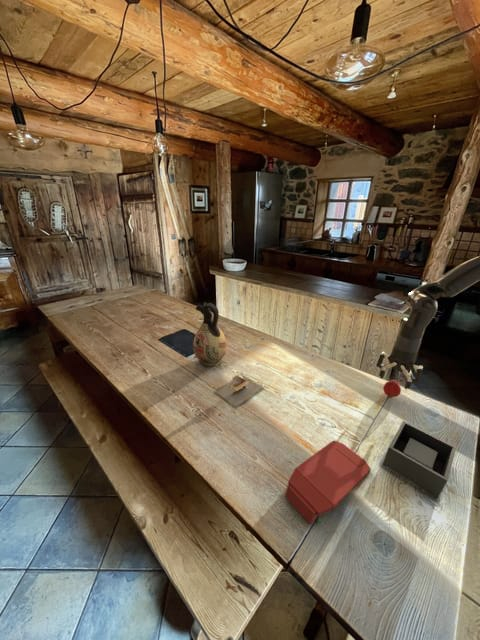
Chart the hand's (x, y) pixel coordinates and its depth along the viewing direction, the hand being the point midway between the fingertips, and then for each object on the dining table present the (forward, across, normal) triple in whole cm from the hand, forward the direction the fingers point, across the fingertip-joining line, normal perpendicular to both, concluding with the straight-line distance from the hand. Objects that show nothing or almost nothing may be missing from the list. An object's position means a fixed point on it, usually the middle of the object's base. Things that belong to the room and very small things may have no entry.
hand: (393, 382), depth 101 cm
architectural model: (+8, +44, +39) cm, 59 cm away
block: (+6, -15, +26) cm, 31 cm away
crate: (+7, -15, +26) cm, 31 cm away
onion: (+7, 0, 0) cm, 7 cm away
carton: (+7, +1, +48) cm, 48 cm away
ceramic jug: (+8, +67, +34) cm, 75 cm away
